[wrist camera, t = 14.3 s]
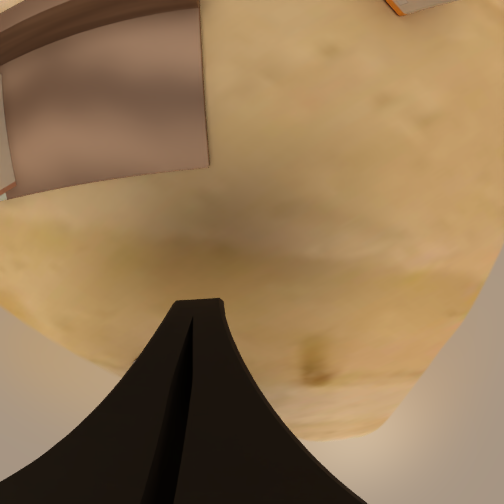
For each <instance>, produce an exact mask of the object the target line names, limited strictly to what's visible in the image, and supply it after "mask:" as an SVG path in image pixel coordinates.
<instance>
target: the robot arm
mask: <svg viewBox="0 0 504 504" xmlns="http://www.w3.org/2000/svg"><path fill="white" fill-rule="evenodd" d="M0 504H367V503H366V502H365V501H364V500H363V499H361V498H360V497H359V496H357V495H356V494H355V493H354V492H352V491H351V490H350V489H349V488H347V487H346V486H345V485H344V484H343V483H342V482H340V481H339V480H338V479H337V478H336V477H335V476H333V475H332V474H331V473H330V472H329V471H328V470H327V469H326V468H325V467H324V466H323V465H322V464H321V463H320V462H319V461H318V460H317V459H316V458H315V457H314V456H313V455H312V454H311V453H310V452H309V451H308V450H307V449H306V448H305V446H303V444H302V443H301V442H300V441H299V440H298V439H297V438H296V436H295V435H294V434H293V433H292V432H291V431H290V430H289V428H288V427H287V426H286V425H285V424H284V422H283V421H282V420H281V418H280V417H279V416H278V414H277V413H276V412H275V411H274V409H273V408H272V406H271V405H270V404H269V402H268V401H267V399H266V398H265V396H264V395H263V393H262V392H261V390H260V389H259V387H258V386H257V384H256V382H255V381H254V379H253V377H252V376H251V374H250V372H249V370H248V368H247V367H246V365H245V363H244V361H243V359H242V357H241V355H240V353H239V351H238V349H237V346H236V344H235V342H234V340H233V337H232V335H231V332H230V330H229V327H228V324H227V320H226V317H225V309H224V301H223V300H221V299H220V298H212V299H196V300H179V301H175V303H174V304H173V305H172V307H171V308H170V310H169V312H168V313H167V315H166V316H165V318H164V320H163V321H162V323H161V324H160V326H159V327H158V329H157V331H156V332H155V334H154V335H153V337H152V338H151V339H150V341H149V342H148V344H147V345H146V347H145V348H144V350H143V351H142V353H141V354H140V355H139V357H138V358H137V359H136V360H135V361H134V362H133V365H132V366H131V367H130V369H129V370H128V371H127V372H126V374H125V375H124V376H123V378H122V379H121V380H120V382H119V383H118V384H117V385H116V386H115V387H114V389H113V390H112V391H111V392H110V393H109V394H108V396H107V397H106V398H105V399H104V400H103V401H102V402H101V403H100V404H99V406H97V407H96V408H95V409H94V410H93V411H92V413H91V414H89V415H88V416H87V418H85V419H84V420H83V421H82V422H81V423H80V424H79V425H78V426H77V427H76V428H75V429H74V430H73V431H72V432H71V433H69V434H68V435H67V436H66V437H65V438H63V439H62V440H61V441H60V442H58V443H57V444H56V445H55V446H53V447H52V448H51V449H50V450H48V451H47V452H46V453H45V454H43V455H42V456H40V457H39V458H38V459H36V460H35V461H34V462H32V463H30V464H29V465H27V466H26V467H24V468H23V469H21V470H19V471H18V472H16V473H14V474H13V475H11V476H9V477H8V478H6V479H4V480H3V481H1V482H0Z"/></svg>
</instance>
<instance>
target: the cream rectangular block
mask: <svg viewBox="0 0 504 504" xmlns="http://www.w3.org/2000/svg"><path fill="white" fill-rule="evenodd" d="M15 186H17V185H16V181H15V176H14V172H13V167H12V162H11V156H10V150H9V144H8V138H7V131H6V124H5V115H4V105H3V93H2V75H1V74H0V195H2V194H4V193H5V192H7V191H8V190H10V189H12V188H13V187H15Z"/></svg>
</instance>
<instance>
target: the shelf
mask: <svg viewBox="0 0 504 504" xmlns="http://www.w3.org/2000/svg"><path fill="white" fill-rule="evenodd" d="M0 74H1V75H2V93H3V105H4V115H5V124H6V131H7V138H8V144H9V150H10V156H11V162H12V167H13V172H14V176H15V181H16V185H17V186H15V187H13V188H12V189H10V190H8V191H7V192H5V193H4V194H2V195H0V201H3V200H8V199H12V198H16V197H21V196H25V195H30V194H34V193H39V192H44V191H49V190H54V189H59V188H64V187H69V186H75V185H80V184H86V183H92V182H98V181H104V180H110V179H117V178H124V177H131V176H138V175H145V174H153V173H162V172H170V171H180V170H189V169H200V168H209V165H210V163H209V151H208V138H207V125H206V111H205V97H204V81H203V64H202V45H201V24H200V0H24V1H22V2H20V3H18V4H17V5H15V6H13V7H11V8H9V9H7V10H6V11H4V12H2V13H0Z"/></svg>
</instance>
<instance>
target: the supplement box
mask: <svg viewBox="0 0 504 504" xmlns="http://www.w3.org/2000/svg"><path fill="white" fill-rule="evenodd" d="M454 1H458V0H386V2H387V3H388V4H389V5H390V6H391V7H392V8H393V9H394V10H395V12H396V13H397V14H398V15H399V16H404V15H408V14H410V13H414V12H417V11H420V10H424V9H427V8H431V7H435V6H438V5H442V4H446V3H450V2H454Z"/></svg>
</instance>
